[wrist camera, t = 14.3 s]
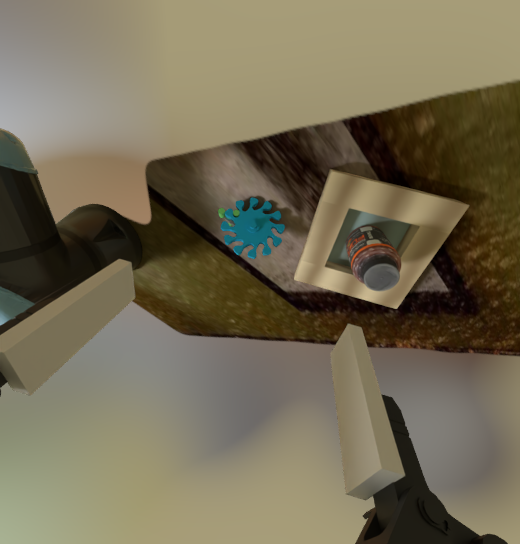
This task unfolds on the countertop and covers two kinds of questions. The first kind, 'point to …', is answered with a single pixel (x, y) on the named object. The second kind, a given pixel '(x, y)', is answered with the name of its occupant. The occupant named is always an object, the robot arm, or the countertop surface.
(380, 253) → the supplement bottle
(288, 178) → the countertop surface
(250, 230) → the gear
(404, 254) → the socket holder
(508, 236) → the countertop surface
